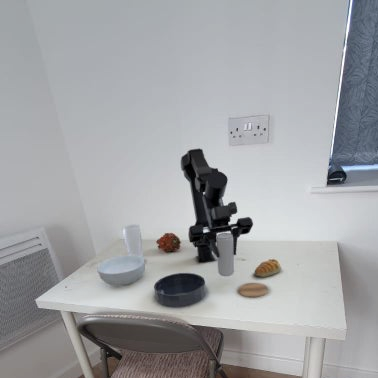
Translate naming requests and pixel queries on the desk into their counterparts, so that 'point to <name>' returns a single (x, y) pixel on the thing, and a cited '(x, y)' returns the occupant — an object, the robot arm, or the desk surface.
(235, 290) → the desk surface
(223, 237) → the beverage can
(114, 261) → the cereal bowl
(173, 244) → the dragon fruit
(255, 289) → the coaster
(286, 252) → the desk surface
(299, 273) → the desk surface
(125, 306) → the desk surface
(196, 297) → the pan
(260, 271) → the pastry
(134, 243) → the drinking glass
